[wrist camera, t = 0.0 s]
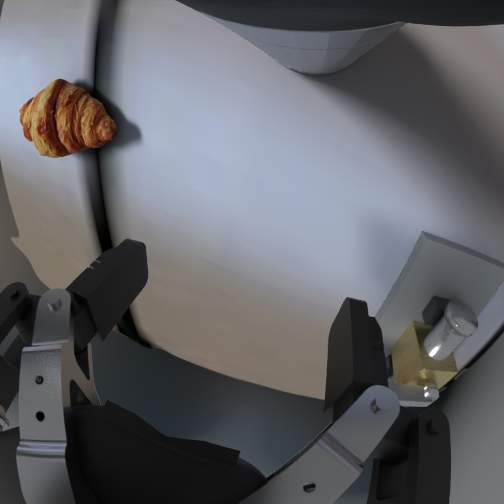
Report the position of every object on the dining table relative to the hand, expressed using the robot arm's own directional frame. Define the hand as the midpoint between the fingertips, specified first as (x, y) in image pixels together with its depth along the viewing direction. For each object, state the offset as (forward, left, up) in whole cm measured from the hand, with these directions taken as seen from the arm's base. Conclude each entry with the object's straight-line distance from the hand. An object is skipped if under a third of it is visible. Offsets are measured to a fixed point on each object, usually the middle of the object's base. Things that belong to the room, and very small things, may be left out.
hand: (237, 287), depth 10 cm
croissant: (-3, -28, -18) cm, 33 cm away
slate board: (+17, +23, -17) cm, 33 cm away
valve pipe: (+17, +23, -16) cm, 32 cm away
